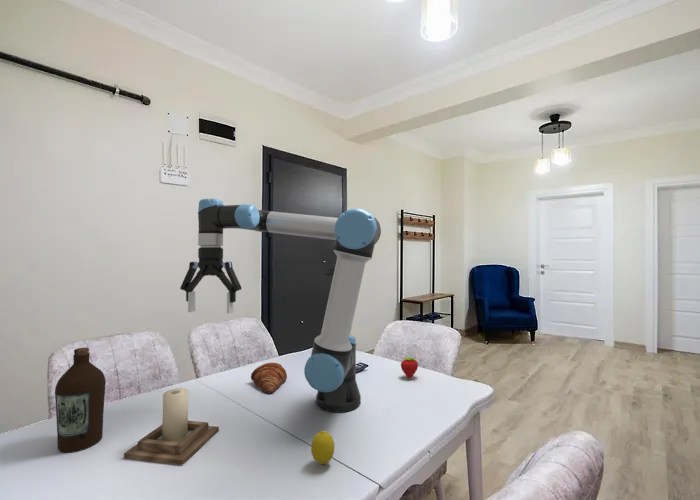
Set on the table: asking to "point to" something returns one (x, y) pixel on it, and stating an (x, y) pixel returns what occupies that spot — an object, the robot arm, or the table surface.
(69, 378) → the brown bottle
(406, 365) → the strawberry
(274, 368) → the pastry
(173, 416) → the kraft paper roll
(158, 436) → the walnut roll stand
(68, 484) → the table surface
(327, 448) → the lemon
